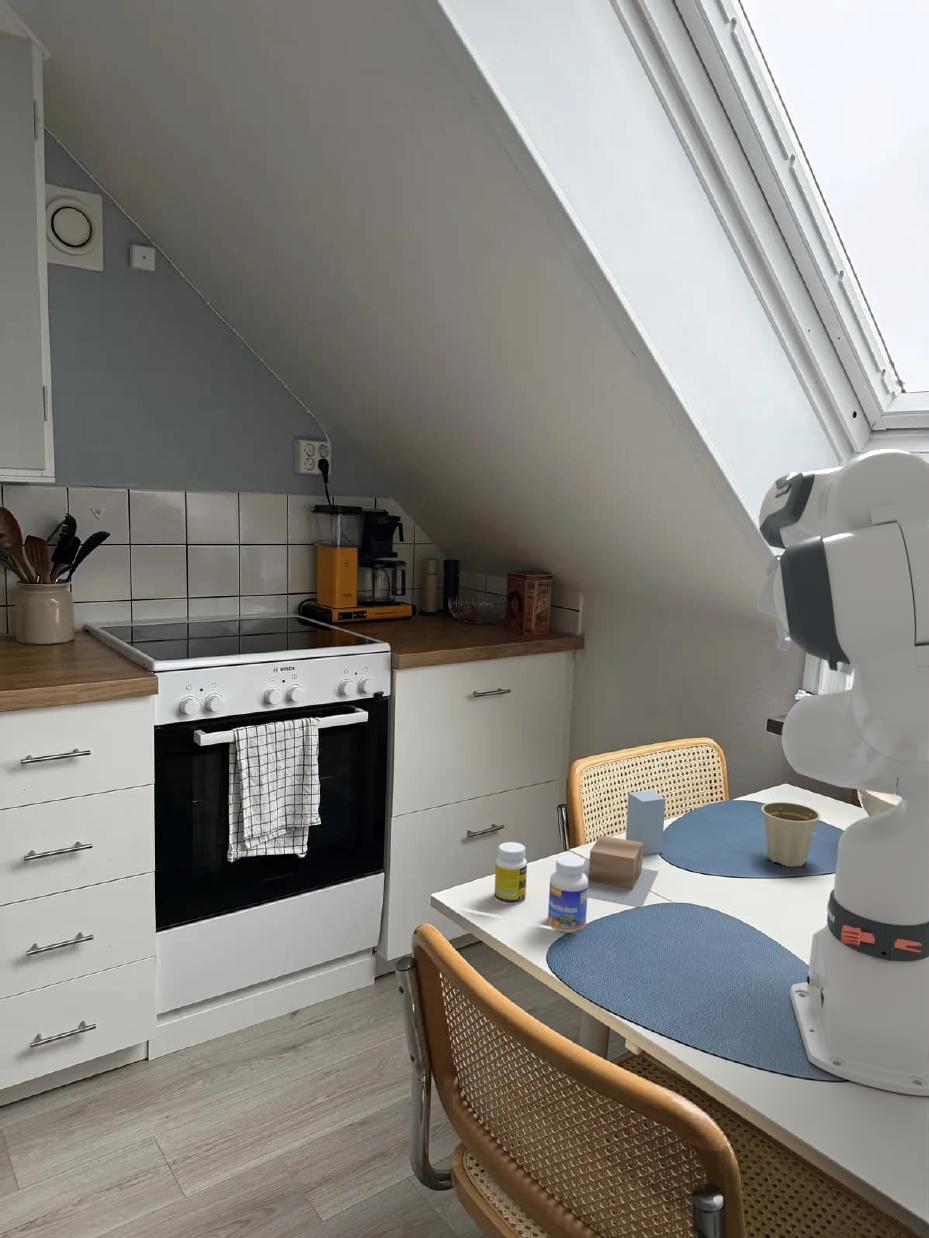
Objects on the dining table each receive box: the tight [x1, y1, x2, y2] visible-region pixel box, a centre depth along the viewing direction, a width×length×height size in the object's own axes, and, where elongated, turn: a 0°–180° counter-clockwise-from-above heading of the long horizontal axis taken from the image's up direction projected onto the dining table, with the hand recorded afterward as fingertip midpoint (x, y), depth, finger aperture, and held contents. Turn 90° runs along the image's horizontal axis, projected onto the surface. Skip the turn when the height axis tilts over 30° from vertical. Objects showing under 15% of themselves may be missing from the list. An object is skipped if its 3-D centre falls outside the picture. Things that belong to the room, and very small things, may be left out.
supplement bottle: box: [493, 841, 528, 906], centre depth 139 cm, size 5×5×8 cm
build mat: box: [583, 857, 659, 909], centre depth 146 cm, size 14×12×1 cm
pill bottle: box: [547, 854, 588, 934], centre depth 132 cm, size 5×5×10 cm
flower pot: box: [760, 801, 821, 867], centre depth 157 cm, size 9×9×9 cm
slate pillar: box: [625, 789, 666, 856], centre depth 158 cm, size 4×4×10 cm
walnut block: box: [589, 835, 644, 889], centre depth 148 cm, size 7×7×5 cm
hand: (813, 660), depth 135 cm, fingers open, 8 cm apart
